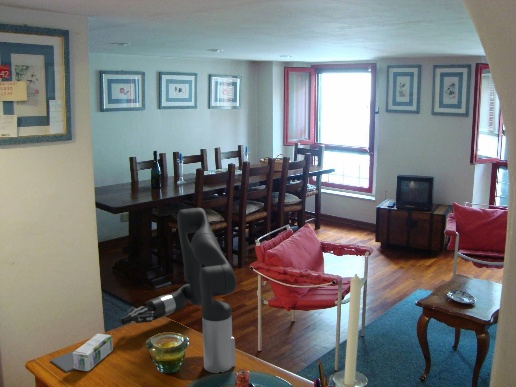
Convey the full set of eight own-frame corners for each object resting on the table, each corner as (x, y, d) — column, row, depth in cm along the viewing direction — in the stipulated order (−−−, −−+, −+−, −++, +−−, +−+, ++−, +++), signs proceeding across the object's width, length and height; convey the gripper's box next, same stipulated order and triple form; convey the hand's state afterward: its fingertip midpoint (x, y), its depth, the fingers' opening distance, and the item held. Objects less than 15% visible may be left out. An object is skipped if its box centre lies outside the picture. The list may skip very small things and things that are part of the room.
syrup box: (113, 350, 180) (89, 372, 166) (98, 348, 181) (72, 369, 168) (112, 335, 179) (88, 355, 165) (97, 332, 180) (71, 352, 167)
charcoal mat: (86, 347, 184) (86, 345, 183) (103, 357, 176) (103, 356, 176) (50, 361, 174) (50, 359, 174) (66, 372, 167) (66, 371, 167)
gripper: (149, 293, 202) (109, 306, 190) (170, 301, 193) (130, 316, 181) (150, 311, 204) (110, 326, 191) (171, 321, 195) (132, 337, 182)
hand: (120, 321), depth 186 cm, fingers closed
